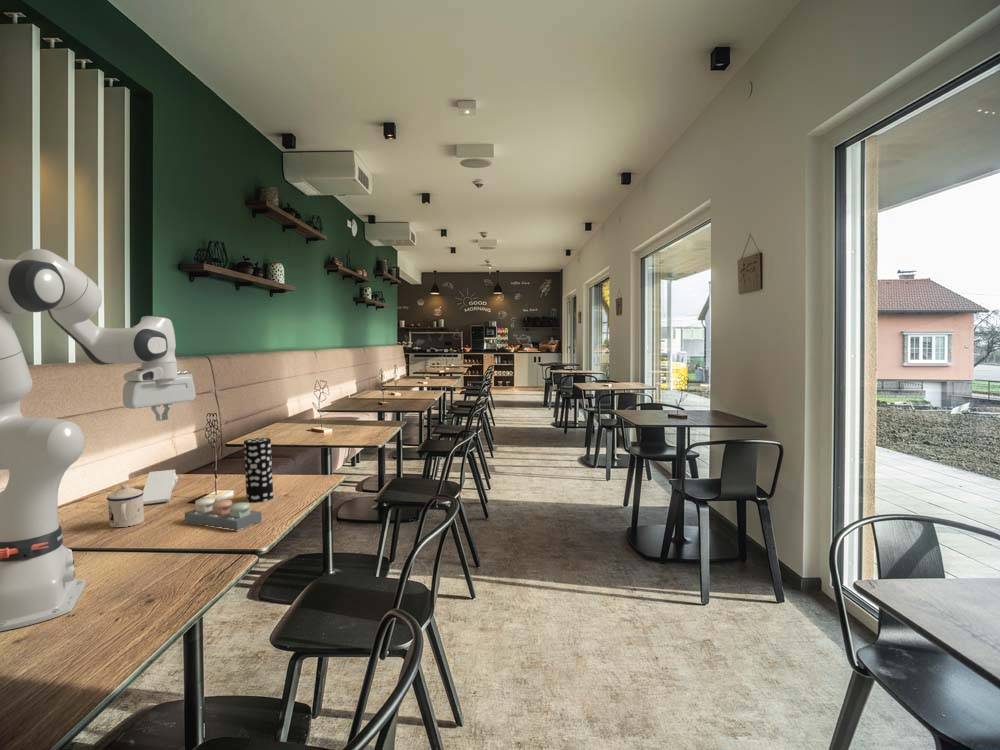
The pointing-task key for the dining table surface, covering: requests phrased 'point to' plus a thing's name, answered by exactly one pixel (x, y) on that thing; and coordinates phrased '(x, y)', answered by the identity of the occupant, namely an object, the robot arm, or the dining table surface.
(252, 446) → the spotted tube
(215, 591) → the dining table surface
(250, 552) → the dining table surface
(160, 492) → the wall bracket
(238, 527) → the button panel
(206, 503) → the button one dot
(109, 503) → the teacup with lid
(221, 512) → the pink dome knob
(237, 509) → the button two dots
